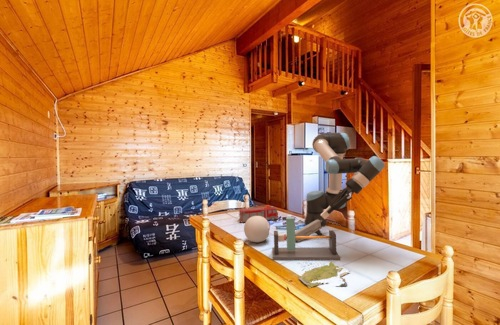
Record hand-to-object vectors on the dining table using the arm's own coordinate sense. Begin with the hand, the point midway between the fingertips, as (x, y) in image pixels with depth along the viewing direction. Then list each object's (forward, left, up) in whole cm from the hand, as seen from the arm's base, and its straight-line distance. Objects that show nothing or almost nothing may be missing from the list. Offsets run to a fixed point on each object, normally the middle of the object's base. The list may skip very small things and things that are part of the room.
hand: (322, 217), depth 122 cm
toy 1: (+11, -73, -20) cm, 76 cm away
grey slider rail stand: (+9, -3, -19) cm, 21 cm away
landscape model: (+10, +21, -20) cm, 31 cm away
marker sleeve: (+15, -5, -16) cm, 23 cm away
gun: (-5, -23, -20) cm, 31 cm away
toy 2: (+26, -29, -19) cm, 43 cm away
